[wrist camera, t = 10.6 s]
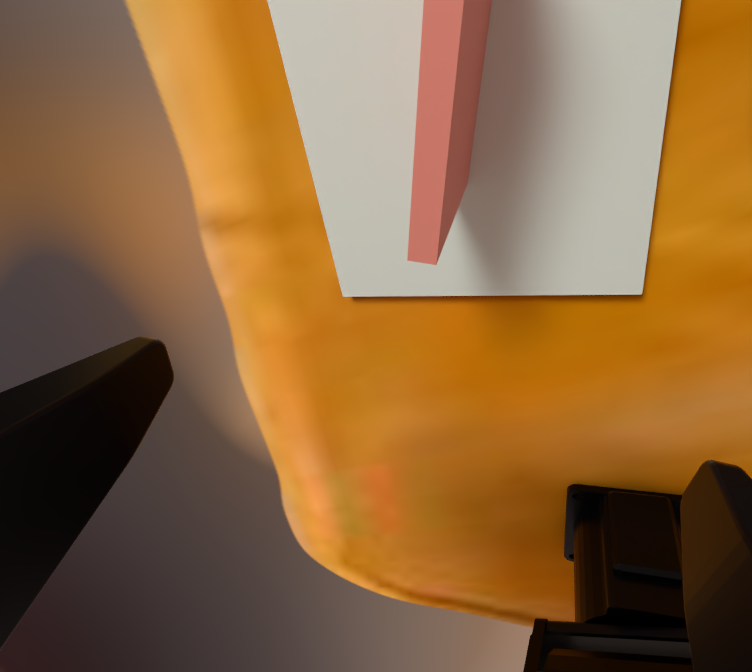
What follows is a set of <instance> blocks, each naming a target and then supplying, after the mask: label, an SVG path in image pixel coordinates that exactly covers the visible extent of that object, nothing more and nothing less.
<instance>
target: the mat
mask: <svg viewBox="0 0 752 672" xmlns="http://www.w3.org/2000/svg"><path fill="white" fill-rule="evenodd" d="M267 1H268V5H269V9H270V13H271V17H272V21H273V25H274V28H275V32H276V36H277V40H278V44H279V48H280V52H281V56H282V60H283V64H284V68H285V72H286V75H287V79H288V83H289V87H290V91H291V95H292V99H293V103H294V107H295V111H296V115H297V119H298V122H299V126H300V130H301V134H302V138H303V142H304V146H305V150H306V154H307V158H308V162H309V166H310V169H311V173H312V177H313V181H314V185H315V189H316V193H317V197H318V201H319V205H320V209H321V212H322V216H323V220H324V224H325V228H326V232H327V236H328V240H329V244H330V248H331V252H332V256H333V259H334V263H335V267H336V271H337V275H338V279H339V283H340V287H341V291H342V295H343V297H373V296H508V295H642V292H643V284H644V277H645V269H646V262H647V254H648V246H649V239H650V231H651V224H652V216H653V209H654V201H655V194H656V186H657V179H658V171H659V164H660V156H661V149H662V141H663V134H664V126H665V119H666V111H667V103H668V96H669V88H670V81H671V73H672V66H673V58H674V51H675V43H676V36H677V28H678V21H679V13H680V6H681V0H492V3H491V11H490V18H489V26H488V33H487V41H486V49H485V56H484V64H483V71H482V79H481V86H480V94H479V101H478V109H477V116H476V124H475V132H474V139H473V147H472V154H471V162H470V169H469V177H468V184H467V186H466V189H465V192H464V194H463V197H462V199H461V202H460V205H459V207H458V210H457V213H456V215H455V218H454V220H453V223H452V226H451V228H450V231H449V233H448V236H447V239H446V241H445V244H444V246H443V249H442V252H441V254H440V257H439V259H438V262H437V265H432V264H426V263H420V262H413V261H407V257H408V241H409V225H410V209H411V194H412V178H413V162H414V146H415V130H416V114H417V99H418V83H419V67H420V51H421V35H422V19H423V4H424V0H267Z"/></svg>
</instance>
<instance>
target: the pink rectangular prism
mask: <svg viewBox="0 0 752 672" xmlns="http://www.w3.org/2000/svg"><path fill="white" fill-rule="evenodd" d="M491 3H492V0H424V4H423V19H422V35H421V51H420V67H419V83H418V99H417V114H416V130H415V146H414V162H413V178H412V194H411V209H410V225H409V241H408V257H407V261H413V262H420V263H426V264H432V265H437V262H438V259H439V257H440V254H441V252H442V249H443V246H444V244H445V241H446V239H447V236H448V233H449V231H450V228H451V226H452V223H453V220H454V218H455V215H456V213H457V210H458V207H459V205H460V202H461V199H462V197H463V194H464V192H465V189H466V186H467V184H468V177H469V169H470V162H471V154H472V147H473V139H474V132H475V124H476V116H477V109H478V101H479V94H480V86H481V79H482V71H483V64H484V56H485V49H486V41H487V33H488V26H489V18H490V11H491Z"/></svg>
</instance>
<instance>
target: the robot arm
mask: <svg viewBox="0 0 752 672" xmlns="http://www.w3.org/2000/svg"><path fill="white" fill-rule="evenodd" d="M173 379H174V373H173V369H172V366H171V362H170V359H169V355H168V352H167V349H166V346H165V344H164V343H163V342H162V341H161V340H159V339H154V338H150V337H144V336H140V337H136V338H134V339H131V340H129V341H126V342H124V343H121V344H119V345H117V346H114V347H111V348H109V349H107V350H104V351H102V352H99V353H97V354H94V355H92V356H89V357H87V358H85V359H82V360H80V361H77V362H74V363H72V364H70V365H67V366H65V367H62V368H60V369H57V370H55V371H52V372H50V373H47V374H45V375H42V376H40V377H38V378H35V379H33V380H30V381H28V382H25V383H23V384H20V385H18V386H15V387H13V388H10V389H8V390H6V391H3V392H1V393H0V649H1V648H2V646H3V645H4V644H5V642H6V641H7V639H8V638H9V636H10V635H11V633H12V632H13V630H14V629H15V628H16V626H17V624H18V623H19V622H20V620H21V619H22V617H23V616H24V614H25V613H26V611H27V610H28V609H29V607H30V606H31V604H32V603H33V601H34V600H35V598H36V597H37V596H38V594H39V593H40V591H41V590H42V588H43V587H44V585H45V584H46V582H47V581H48V579H49V578H50V577H51V575H52V574H53V572H54V571H55V569H56V568H57V566H58V565H59V564H60V562H61V561H62V559H63V558H64V556H65V555H66V553H67V552H68V550H69V549H70V547H71V546H72V545H73V543H74V541H75V540H76V539H77V537H78V535H79V534H80V533H81V531H82V530H83V529H84V527H85V526H86V524H87V523H88V521H89V520H90V518H91V517H92V516H93V514H94V513H95V511H96V509H97V508H98V507H99V505H100V504H101V502H102V501H103V499H104V498H105V496H106V495H107V494H108V492H109V490H110V489H111V488H112V486H113V485H114V483H115V482H116V480H117V479H118V478H119V476H120V475H121V473H122V472H123V470H124V469H125V467H126V466H127V464H128V463H129V461H130V460H131V458H132V457H133V455H134V453H135V452H136V450H137V448H138V447H139V445H140V443H141V441H142V440H143V438H144V436H145V434H146V432H147V430H148V428H149V427H150V425H151V423H152V421H153V419H154V418H155V416H156V414H157V412H158V410H159V409H160V407H161V405H162V403H163V401H164V399H165V398H166V396H167V394H168V392H169V390H170V388H171V386H172V383H173ZM564 556H565V558H566V559H567V560H569V561H573V562H574V583H575V622H561V621H548V619H540V618H536V619H535V622H534V627H533V632H532V635H531V636H530V640H529V645H528V650H527V656H526V661H525V666H524V671H523V672H752V479H751V478H750V476H749V475H748V474H747V473H746V472H745V471H744V470H743V469H741V468H740V467H738V466H736V465H732V464H728V463H723V462H718V461H714V460H708V461H706V462H704V463H703V464H702V465H701V467H700V468H699V470H698V471H697V473H696V474H695V476H694V477H693V479H692V480H691V482H690V483H689V485H688V487H687V488H686V490H685V491H684V493H683V495H673V494H664V493H655V492H645V491H636V490H627V489H617V488H608V487H598V486H589V485H580V484H573V485H570V486H569V487H568V488H567V502H566V523H565V544H564Z"/></svg>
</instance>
